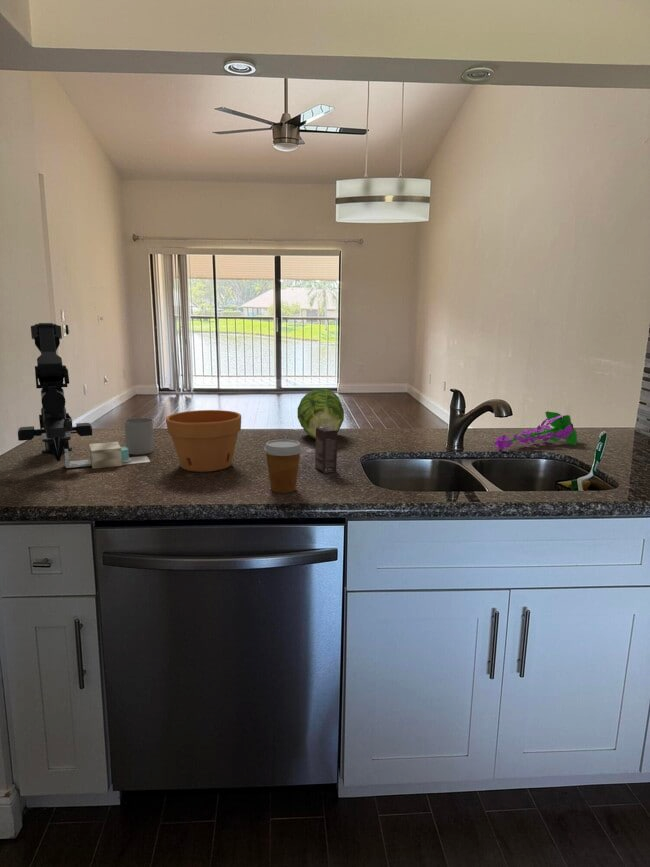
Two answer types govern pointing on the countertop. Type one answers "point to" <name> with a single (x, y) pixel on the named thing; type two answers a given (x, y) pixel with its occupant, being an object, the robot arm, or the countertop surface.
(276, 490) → the disposable coffee cup
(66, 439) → the robot arm
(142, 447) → the cup
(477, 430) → the countertop surface
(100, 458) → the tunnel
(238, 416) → the flower pot
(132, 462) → the pad
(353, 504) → the countertop surface
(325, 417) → the lettuce
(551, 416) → the purple flower
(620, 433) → the countertop surface
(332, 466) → the box
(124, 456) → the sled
